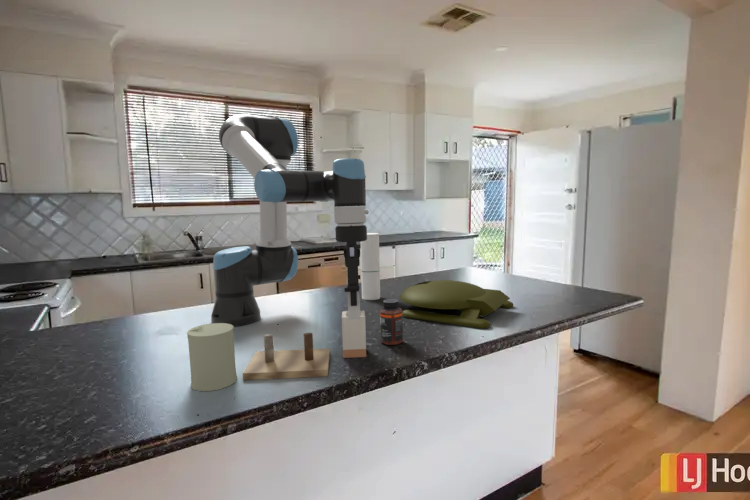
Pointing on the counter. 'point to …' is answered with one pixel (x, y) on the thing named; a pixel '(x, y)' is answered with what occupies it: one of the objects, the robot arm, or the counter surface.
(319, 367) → the pin board
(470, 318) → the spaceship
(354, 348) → the sleeve
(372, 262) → the cylindrical container
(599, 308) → the counter surface
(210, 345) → the can
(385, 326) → the supplement bottle
